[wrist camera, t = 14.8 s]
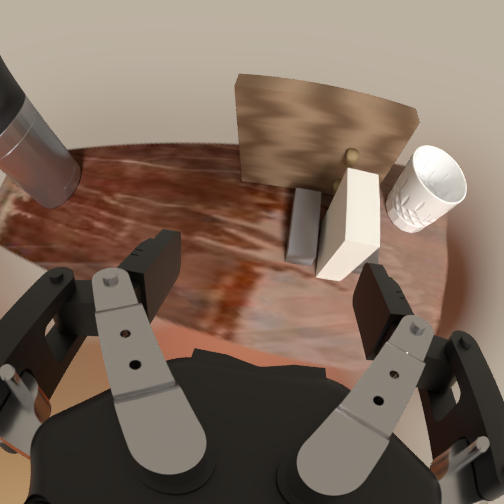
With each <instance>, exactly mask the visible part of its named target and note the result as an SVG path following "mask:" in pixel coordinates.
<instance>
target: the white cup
mask: <svg viewBox="0 0 504 504" xmlns="http://www.w3.org/2000/svg"><path fill="white" fill-rule="evenodd" d="M466 191H467V186H466V180H465V177H464V174H463V172H462V170H461V169H460V167H459V166H458V164H457V163H456V162H455V160H454V159H453V158H452V157H451V156H449V155H448V154H447V153H446V152H444V151H443V150H441V149H439V148H437V147H434V146H430V145H424V146H420V147H418V148H417V149H416V150H415V152H414V153H413V155H412V157H411V158H410V160H409V162H408V163H407V165H406V166H405V168H404V170H403V171H402V173H401V174H400V176H399V178H398V180H397V181H396V183H395V185H394V187H393V189H392V190H391V192H390V193H389V195H388V197H387V201H386V209H387V214H388V216H389V217H390V219H391V221H392V222H393V224H394V225H396V226H397V227H398V228H399V229H401V230H402V231H406V232H409V233H413V232H418V231H420V230H422V229H423V228H424V227H426V226H427V225H429V224H431V223H433V222H434V221H435V220H437V219H438V218H440V217H441V216H443V215H444V214H445V213H447V212H448V211H449V210H451V209H452V208H453V207H454V206H456V205H457V204H459V203H460V202H461V201H462V200H463V199H464V198H465V195H466Z"/></svg>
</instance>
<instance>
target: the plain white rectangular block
mask: <svg viewBox="0 0 504 504" xmlns="http://www.w3.org/2000/svg"><path fill="white" fill-rule="evenodd" d="M379 247H380V197H379V175H378V174H374V173H369V172H365V171H361V170H356V169H352V168H347V170H346V172H345V174H344V176H343V179H342V181H341V183H340V185H339V187H338V189H337V191H336V194H335V196H334V198H333V200H332V202H331V204H330V206H329V208H328V210H327V212H326V214H325V217H324V219H323V221H322V223H321V232H320V243H319V252H318V261H317V270H316V277H317V278H323V279H329V280H336V281H341V280H342V279H343V278H345V277H346V276H347V275H348V274H349V273H350V272H352V271H353V270H354V269H355V268H356V267H357V266H359V265H360V264H361V263H362V262H363V261H364V260H365V259H367V258H368V257H369V256H370V255H371V254H372V253H373V252H374V251H376V250H377V249H378V248H379Z"/></svg>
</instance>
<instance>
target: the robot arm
mask: <svg viewBox="0 0 504 504" xmlns="http://www.w3.org/2000/svg"><path fill="white" fill-rule="evenodd" d="M0 169H1V170H2V171H3V172H4V173H5V174H6V175H7V176H8V177H9V178H10V179H12V180H13V181H14V182H15V183H16V184H17V185H18V186H19V187H21V188H22V189H23V190H24V191H25V192H26V193H28V194H29V195H30V196H31V197H32V198H33V199H35V200H36V201H37V202H38V203H39V204H41V205H42V206H43V207H45V208H49V209H50V208H55V207H57V206H59V205H61V204H62V203H64V202H65V201H66V200H67V199H68V198H69V197H70V196H71V195H72V193H73V192H74V191H75V189H76V187H77V185H78V183H79V180H80V175H81V169H80V166H79V164H78V163H77V162H76V160H75V159H74V158H73V157H72V155H71V154H70V153H69V152H68V150H67V149H66V148H65V146H64V145H63V144H62V143H61V141H60V140H59V139H58V138H57V136H56V135H55V134H54V133H53V131H52V130H51V129H50V127H49V126H48V125H47V123H46V122H45V121H44V119H43V118H42V116H41V115H40V114H39V112H38V111H37V110H36V109H35V107H34V106H33V104H32V103H31V102H30V101H29V99H28V98H27V96H26V95H25V93H24V92H23V90H22V89H21V88H20V86H19V85H18V83H17V82H16V81H15V79H14V77H13V76H12V74H11V73H10V71H9V70H8V68H7V67H6V65H5V63H4V61H3V60H2V58H1V56H0ZM180 266H181V234H180V232H178V231H171V230H165V229H163V230H161V232H160V233H159V234H158V235H157V236H156V237H155V238H154V239H151V238H150V239H148V240H146V241H143V242H141V243H140V244H139V245H138V246H137V247H136V248H135V250H133V251H132V252H131V254H130V255H129V256H128V257H127V258H126V259H125V260H124V261H123V262H122V263H121V264H120V265H119V266H118V267H117V268H107V269H103V270H101V271H99V272H97V273H96V274H95V275H94V276H93V278H92V280H75V278H74V273H73V271H72V270H71V269H69V268H66V267H58V268H54V269H51V270H49V271H47V272H46V273H45V274H44V275H42V276H41V278H40V279H38V280H37V281H36V282H35V283H34V284H33V285H32V286H31V288H30V289H28V291H27V292H26V293H25V294H24V295H23V296H22V297H21V298H20V299H19V300H18V301H17V302H16V303H15V304H14V305H13V306H12V308H11V309H10V310H9V311H8V312H7V313H6V314H5V315H4V316H3V318H2V319H1V320H0V447H2V448H3V449H4V450H5V451H7V452H9V453H12V454H16V453H19V454H21V455H22V456H24V457H26V458H27V459H29V460H30V462H31V479H30V488H29V494H28V497H27V499H26V501H25V503H24V504H488V503H490V502H492V501H494V500H495V499H497V498H499V497H500V496H502V495H504V401H503V399H502V396H501V394H500V391H499V389H498V386H497V384H496V382H495V379H494V377H493V375H492V373H491V371H490V369H489V366H488V364H487V362H486V360H485V358H484V356H483V354H482V352H481V350H480V348H479V346H478V344H477V342H476V341H475V340H474V338H473V337H472V336H470V335H469V334H467V333H466V332H463V331H454V332H453V333H452V335H451V336H450V338H449V340H447V339H444V338H441V337H438V336H435V335H434V331H433V328H432V326H431V325H430V324H429V323H428V322H427V321H426V320H424V319H423V318H421V317H418V316H415V315H414V314H413V312H412V310H411V308H410V306H409V304H408V302H407V300H406V299H405V296H404V294H403V293H402V290H401V288H400V286H399V285H398V284H397V283H396V282H395V281H394V280H393V279H392V278H391V277H389V276H388V274H387V272H386V271H385V269H384V267H383V265H380V264H374V263H368V262H366V263H365V264H364V266H363V268H362V271H361V274H360V277H359V280H358V283H357V286H356V288H355V291H354V295H353V308H354V312H355V316H356V319H357V323H358V327H359V331H360V335H361V339H362V343H363V347H364V351H365V356H366V360H374V361H373V362H372V363H371V365H370V366H369V368H368V369H367V370H366V372H365V373H364V374H363V376H362V377H361V379H360V380H359V381H358V382H357V384H356V385H355V386H354V388H353V389H352V390H351V391H350V390H349V389H348V388H347V387H345V386H344V385H342V384H339V383H338V382H336V381H333V380H331V379H328V378H326V371H325V368H319V367H309V366H300V365H287V366H270V367H258V366H255V365H253V364H250V363H247V362H245V361H242V360H239V359H237V358H234V357H232V356H229V355H226V354H221V353H215V352H210V351H206V350H201V349H196V348H195V349H194V351H193V354H192V357H185V358H176V359H171V360H167V361H165V359H164V356H163V354H162V352H161V350H160V347H159V345H158V343H157V340H156V338H155V335H154V333H153V331H152V328H151V326H150V324H151V322H152V320H153V318H154V317H155V315H156V313H157V312H158V310H159V308H160V306H161V305H162V303H163V301H164V300H165V298H166V296H167V294H168V293H169V291H170V289H171V288H172V286H173V284H174V283H175V281H176V279H177V278H178V275H179V272H180ZM52 318H53V319H54V322H55V324H54V326H53V327H52V328H51V330H50V331H49V333H48V334H47V335H46V336H45V330H46V327H47V325H48V324H49V322H50V321H51V319H52ZM87 336H99V340H100V345H101V350H102V354H103V359H104V363H105V368H106V372H107V376H108V380H109V384H110V387H111V388H110V389H108V390H106V391H104V392H102V393H100V394H98V395H96V396H94V397H92V398H89V399H87V400H85V401H83V402H81V403H79V404H77V405H75V406H73V407H70V408H68V409H66V410H64V411H62V412H60V413H57V414H55V415H53V416H51V417H50V415H51V404H50V401H49V400H50V398H51V396H52V395H53V393H54V391H55V389H56V387H57V385H58V384H59V382H60V380H61V378H62V377H63V375H64V373H65V372H66V370H67V368H68V366H69V365H70V363H71V361H72V360H73V358H74V356H75V355H76V353H77V352H78V350H79V348H80V347H81V345H82V343H83V342H84V340H85V339H86V337H87ZM456 381H457V382H458V385H459V388H460V391H461V395H460V400H459V402H458V403H457V404H456V402H455V399H454V395H453V392H452V389H451V387H452V386H453V385H454V384H455V382H456ZM415 387H418V390H419V394H420V398H421V402H422V406H423V411H424V415H425V420H426V425H427V429H428V435H429V440H430V446H431V452H432V458H433V461H432V463H431V465H430V469H429V468H428V467H427V466H426V465H425V464H424V463H423V462H422V461H421V460H420V459H419V458H418V457H417V456H416V455H415V454H414V453H413V452H412V451H411V450H410V449H409V448H408V447H407V446H406V445H405V444H404V443H403V442H402V441H401V440H400V439H399V438H397V436H396V435H395V434H394V433H393V430H394V428H395V426H396V425H397V423H398V421H399V419H400V417H401V415H402V414H403V412H404V410H405V408H406V406H407V404H408V402H409V400H410V397H411V396H412V393H413V391H414V389H415Z"/></svg>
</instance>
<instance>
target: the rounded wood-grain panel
mask: <svg viewBox="0 0 504 504" xmlns="http://www.w3.org/2000/svg"><path fill="white" fill-rule="evenodd" d="M235 99H236V112H237V125H238V137H239V150H240V163H241V175H242V181H245V182H253V183H260V184H267V185H274V186H281V187H287V188H293V189H296V191H295V195H294V199H293V205H292V213H291V221H290V228H289V236H288V243H287V251H286V258H285V262H289V263H295V264H301V265H308V266H310V265H311V264H312V262H313V261H314V259H315V257H316V252H317V241H318V230H319V218H320V205H321V193H323V194H328V195H334V196H335V194H336V191H337V189H338V187H339V185H340V183H341V181H342V179H343V176H344V174H345V172H346V170H347V168H352V169H356V170H361V171H365V172H369V173H374V174H378V175H379V185H380V184H381V182H382V181H383V179H384V178H385V176H386V175H387V173H388V172H389V170H390V169H391V167H392V166H393V164H394V163H395V161H396V160H397V158H398V157H399V155H400V153H401V152H402V150H403V149H404V147H405V146H406V144H407V142H408V141H409V139H410V138H411V136H412V134H413V133H414V131H415V129H416V128H417V126H418V125H419V123H420V122H419V118H418V115H417V111H416V109H415V108H412V107H409V106H406V105H403V104H400V103H397V102H393V101H390V100H387V99H383V98H380V97H376V96H372V95H369V94H365V93H361V92H357V91H353V90H348V89H344V88H339V87H335V86H330V85H325V84H319V83H314V82H307V81H301V80H295V79H288V78H280V77H271V76H261V75H250V74H239V75H238V78H237V81H236V83H235ZM378 255H379V248H378V249H377V250H376V251H374V252H373V253H372V254H371V255H370V256H369V257H368V258H367V259H365V260H364V261H363V262H362V263H361V264H360V265H359V266H357V267H356V268H355V269H354V270H353V271H352V272H353V273H360V274H361V271H362V268H363V266H364V264H365V263H366V262H368V263H374V264H378Z"/></svg>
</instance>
